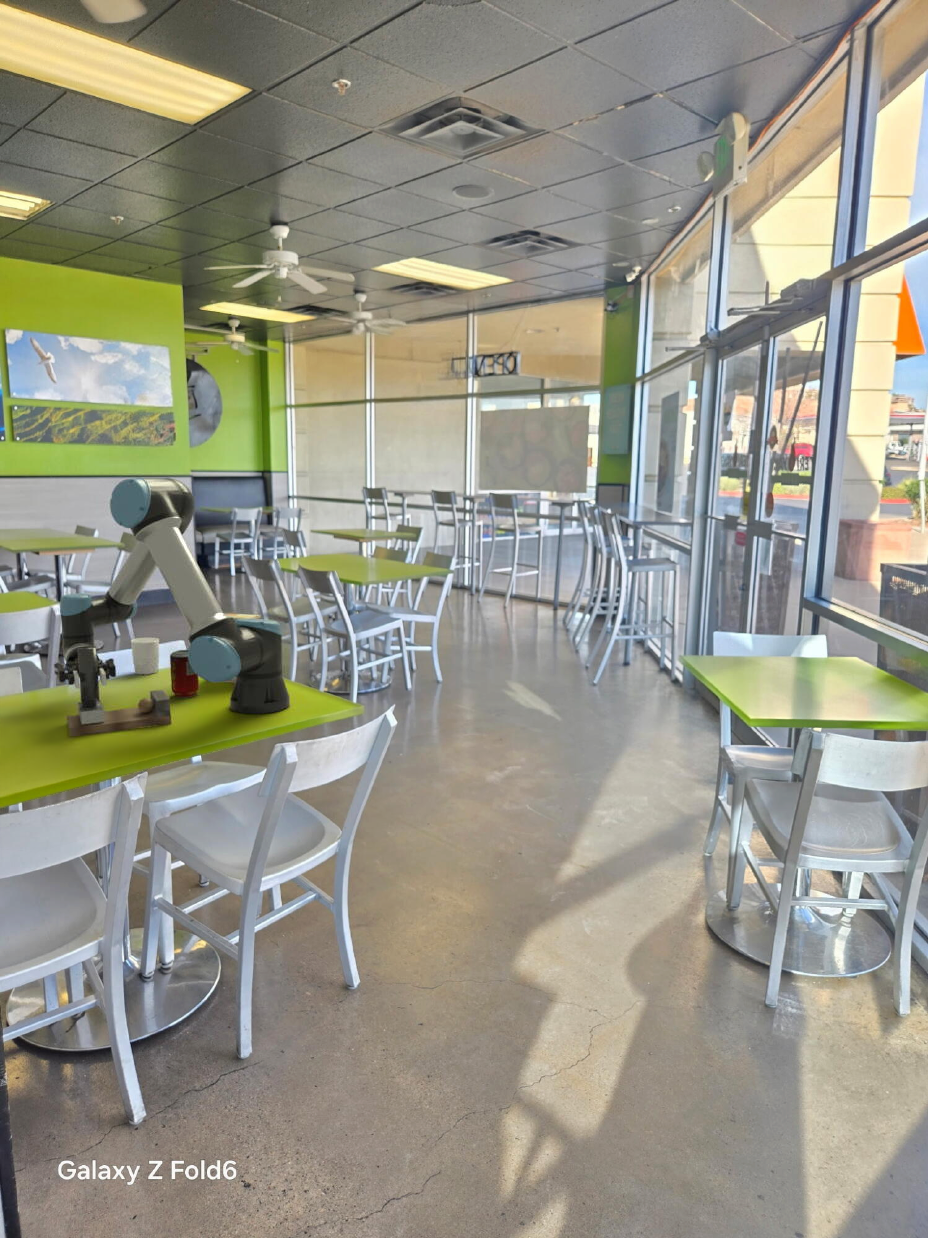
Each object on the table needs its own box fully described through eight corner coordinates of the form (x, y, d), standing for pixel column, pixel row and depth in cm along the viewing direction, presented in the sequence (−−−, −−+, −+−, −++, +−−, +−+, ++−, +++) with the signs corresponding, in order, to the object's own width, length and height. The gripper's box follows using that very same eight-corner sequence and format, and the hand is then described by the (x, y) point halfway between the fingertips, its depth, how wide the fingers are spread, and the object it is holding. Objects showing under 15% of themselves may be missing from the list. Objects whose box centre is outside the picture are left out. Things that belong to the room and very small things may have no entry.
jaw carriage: (101, 711, 194) (96, 643, 191) (105, 721, 187) (100, 650, 184) (78, 714, 192) (73, 645, 189) (81, 724, 184) (76, 652, 181)
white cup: (150, 676, 239) (149, 643, 237) (127, 674, 240) (125, 641, 239) (165, 670, 246) (164, 638, 245) (142, 668, 248) (140, 636, 246)
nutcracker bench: (163, 712, 203) (162, 689, 202) (171, 723, 193) (170, 699, 192) (67, 723, 192) (65, 699, 191) (70, 736, 183) (68, 711, 182)
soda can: (204, 693, 221) (202, 650, 218) (187, 700, 214) (184, 655, 212) (184, 690, 223) (181, 647, 221) (166, 697, 217) (163, 652, 214)
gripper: (121, 671, 208) (133, 692, 188) (43, 678, 199) (48, 701, 179) (119, 643, 207) (131, 661, 187) (41, 649, 198) (45, 669, 178)
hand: (90, 681), depth 183 cm, fingers open, 5 cm apart
